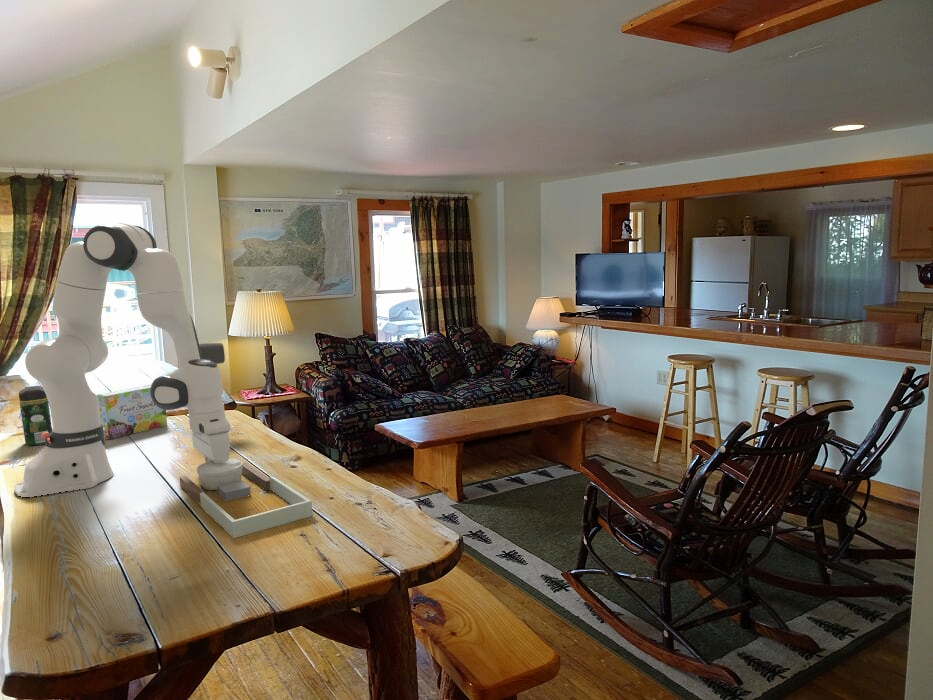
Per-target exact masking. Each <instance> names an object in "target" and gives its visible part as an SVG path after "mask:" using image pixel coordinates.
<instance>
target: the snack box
mask: <svg viewBox="0 0 933 700" xmlns="http://www.w3.org/2000/svg"><path fill="white" fill-rule="evenodd" d="M151 385H152V383H151V384H146V385H142V386H141V385H140V386H135V387H131V388H125V389H119V390H114V391H108V392H102V393H98V394H96V396H97V397H98V401H99V410H100V419H101V424H102V425H103V428H104V433H105V438H107V439H106V440H108V439H110V440H113V439H112V438H114V439H117V437H118V438H121V436H122V437H126V436H129V435H128V434H130V435H133V434H132V433H135V434H137V433H136V432H139V433H141V431H143V432H146V430H147V431H150V429H151V430H154V428H155V429H158V428H163V427H165V426H166V427H167V426H168V419H167V418H168V416H167V410H163V409H161V408H159V407H158V406H156V405H155V403H154V402H153V400H152V398H151V394H150V389H151ZM125 435H126V436H125Z"/></svg>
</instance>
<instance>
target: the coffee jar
mask: <svg viewBox="0 0 933 700" xmlns="http://www.w3.org/2000/svg"><path fill="white" fill-rule="evenodd" d="M18 399H19V409H20V416H21V422H22V428H23V436H24V437H23V438H24V442H25V444H26V445H27V446H41V445H40V444H42V445H44V444H46V443H45V440H43V439H42V437H41V436H42V434H43V432H49V433H51V432H52V431H53V424H52V417H51V410H50V405H49V401H48V398H47V396H46V394H45V391H44V389H43V387H42V386H40V385H33V386H31V385H30V386H25V387H24V388H22V389H21V390H19V392H18Z"/></svg>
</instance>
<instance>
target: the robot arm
mask: <svg viewBox="0 0 933 700" xmlns="http://www.w3.org/2000/svg"><path fill="white" fill-rule="evenodd" d="M157 246H158V245H157V241H156V239H155V237H154V235H153V234H152V233H151V232H150V231H148V230H147V229H145V228H144V227H141V226H138V225H132V224H127V223H104V224H103V223H102V224H98V225H95V226H93V227H92V228H90V229H89V230H88V231H87V232H86V233H85V235H84V238H83V241H77V242H76V241H75V242H73V243H71V244H69V245H68V246H67V248H66V250H65V252H64V254H63V257H62V260H61V263H60V265H59V270H58V273H57V279H56V284H55V291H54V297H53V301H52V307H51V308H52V313H53V314H54V315H55V316H56V318H57V323H58V329H59V330H58V335H57V337H53V338H48V339H45V340H42V341H41V342H39V343H38V344H36V345H35V346H32V347H31V348H30V349H29V351H28V352H27V353H26V355H25V359H24V362H25V369H26V370H27V372H28V374H29V375H30V376H31V377H32V378H33V379H35V380H36V381H38V383H39V384H40V385H41V386H40V387H43V389H44V391H45V394H46V396H47V398H48V402H49V410H50V418H51V425H52V432H51V433H49V432H43V434H42V436H41V437H42V439H43V440H45V443H44V444H45V448H43V449H42V450H41V451H40V452H39V453H38V454H37V455H36V456H34V457H33V458H31V460H29V461H28V462H27V463H26V466H25V468H24V471H23V480H21V481H20V482H18V483H17V484H16V485H15V486H14V494H15V493H16V494H17V495H19V496H21V497H20V498H22V497H30V498H35V497H34V496H37V497H40V496H41V495H43V496H48V495H47V494H49V495H54V493H55V494H60V493H59V492H61V493H66V492H65V491H68V492H71V491H72V492H73V490H74V491H78V490H79V489H80V490H85V489H90V488H91V489H92V488H93V487H94V488H95V486H97V485H98V484H100V483H103V482H104V481H107V480H108V479H110V478H112V477H113V476H114V471H113V469H112V466H111V464H110V461H109V459H108V456H107V451H106V448H105V445H106V439H105V433H104V428H103V425H102V424H101V419H100V410H99V401H98V397H97V394H96V393H94V392H93V391H92V389H90V386H89V384H88V381H87V379H86V374H87V373H90V372H93V371H95V370H96V369H98V368H99V367H101V366H102V365H103V364H104V363H105V361H106V360H107V358H108V355H109V348H108V347H109V346H108V345H107V343H106V341H105V340H104V339H103V329H102V315H103V314H102V312H103V307H104V303H105V302H104V300H105V296H106V289H107V282H108V277H109V274H110V273H111V271H112V270H113V269H114V270H118V271H123V272H126V271H128V272H129V273H131V274H132V276H133V279H134V283H135V288H136V296H137V302H138V303H137V304H138V308H139V311H140V313H141V315H142V318H143V319H144V320H145V321H146V322H148V323H149V324H150V325H152V326H154V327H156V328H159V329H161V330H163V331H165V332H167V334H169V336H170V337H171V339H172V342H173V346H174V349H175V352H176V353H175V354H176V358H177V361H178V362H177V363H178V368H177V369H175V370H173V371H170V372H167V373H165V374H162V375H160V376H159V377H156V378H155V379H154V380H153V381H152V383H151V384H152V385H151V384H150V385H151V389H150V394H151V398H152V400H153V402H154V403H155V405H156V406H158V407H159V408H161V409H163V410H166V411H172V410H173V411H175V410H177V409H180V408H181V409H182V408H187V411H188V420H189V429H190V430H191V440H192V441H191V442H192V446H193V448H194V449H195V450H197V451H198V452H199V453H201V454H202V455H203V459H204V461H205V462H204V463H206V462H209V461H213V462H215V463H221V462H225V461H228V460H229V459H230V454H231V453H230V451H231V449H230V448H231V447H230V445H231V444H230V435H229V431H231V424H230V422H229V420H228V418H227V416H226V411H225V405H224V402H223V394H224V389H223V380H222V375H221V371H220V368H219V366H218V365H219V364H216V363H215V362H213V361H210V360H205V359H202V355H201V351H200V346H199V344H200V343H199V338H198V334H197V330H196V327H195V322H194V320H193V317H192V316H191V314H190V311H189V309H188V307H187V302H186V298H185V292H184V285H183V279H182V275H181V271H180V268H179V266H178V261H177V259H176V257H175V256H174V254H173V253H171V252H170V251H168V250H166V249H161V248H158V247H157ZM16 494H15V495H16ZM17 495H16V496H17Z"/></svg>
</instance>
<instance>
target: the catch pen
mask: <svg viewBox="0 0 933 700" xmlns="http://www.w3.org/2000/svg"><path fill="white" fill-rule="evenodd" d="M268 478H269V479H270V490H269V491H271V490H272V491H273V493H274V492H275V493H276V494H275V493H274V494H275V495H276V496H278V495H279V496H278V497H279V498H281V497H282V498H281V499H283V500H284V499H285V500H284V501H286V502H287V501H288V502H289V503H288V502H287V503H288V504H289V505H286V506H282V507H278V508H275V509H272V510H268V511H264V512H260V513H255V514H253V515H249V516H245V517H241V518H237V519H235V518H234V517H232V516H231V515H230V514H229V513H227V511H225V510H224V509H223V508H222V507H221V506H220V505H218V504H217V503H216V502H215V501H214V500H213V499H212V498H211V497H210V496H209V495H208V494H207V493H206V492H205V491H204V492H205V493H206V494H207V495H208V496H207V495H206V494H205V493H204V492H202V493H200V501H201V505H200V507H203V508H204V509H205V510H206V511H207V512H208V513H209V514H210V515H211V516H212V517H213V518H214V519H215V520H216V521H217V522H218V523H219V524H220V525H221V526H222V527H223V528H224V529H223V528H222V527H221V526H220V525H219V524H218V523H217V522H216V521H215V520H214V519H213V518H212V517H211V516H210V515H209V514H208V513H207V512H206V511H205V512H206V513H207V514H208V515H209V516H210V517H211V518H212V519H213V520H214V521H215V522H216V523H217V524H218V525H219V526H220V527H221V528H222V529H223V530H224V531H225V532H227V534H228V535H229V536H231V537H232V538H233V539H235V538H239V537H243V536H246V535H250V534H254V533H257V532H261V531H265V530H268V529H272V528H275V527H278V526H281V525H285V524H289V523H292V522H295V521H300V520H303V519H306V518H310V517H313V502H312V501H313V500H311V499H309V498H308V497H306V496H305V495H303V494H301V493H300V492H298V491H296V490H295V489H294V488H293V487H291V486H289V485H287V484H286V483H284V482H282V481H281V480H280V479H278V478H276V477H275V476H273V475H270V476H269V477H268ZM272 491H271V492H272Z"/></svg>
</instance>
